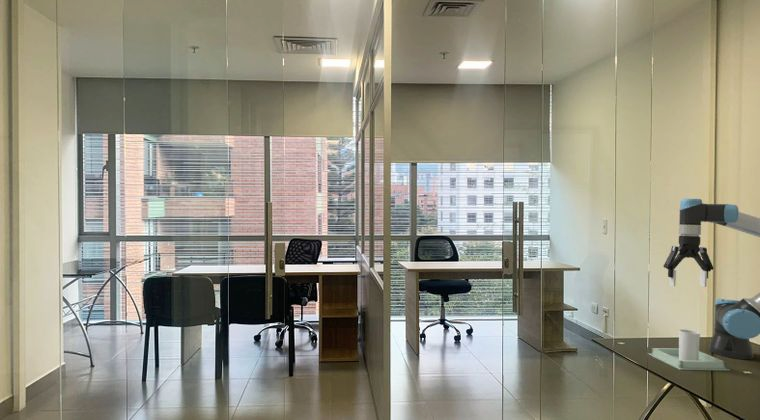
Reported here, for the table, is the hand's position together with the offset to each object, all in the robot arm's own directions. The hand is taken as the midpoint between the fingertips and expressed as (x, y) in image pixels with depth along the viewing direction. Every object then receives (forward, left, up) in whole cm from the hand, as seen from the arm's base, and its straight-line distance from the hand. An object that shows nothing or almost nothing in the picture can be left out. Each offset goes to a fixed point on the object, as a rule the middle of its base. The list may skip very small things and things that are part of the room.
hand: (687, 285), depth 187 cm
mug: (+7, +10, -28) cm, 31 cm away
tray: (+7, +10, -29) cm, 31 cm away
